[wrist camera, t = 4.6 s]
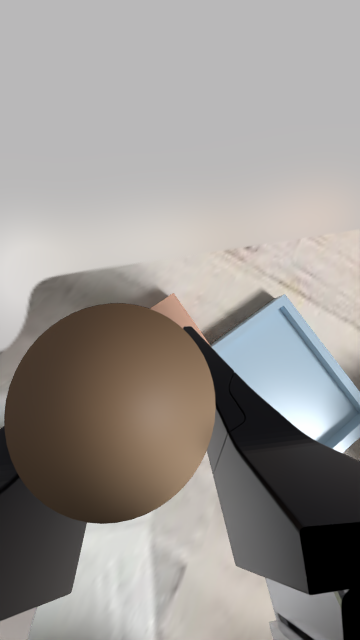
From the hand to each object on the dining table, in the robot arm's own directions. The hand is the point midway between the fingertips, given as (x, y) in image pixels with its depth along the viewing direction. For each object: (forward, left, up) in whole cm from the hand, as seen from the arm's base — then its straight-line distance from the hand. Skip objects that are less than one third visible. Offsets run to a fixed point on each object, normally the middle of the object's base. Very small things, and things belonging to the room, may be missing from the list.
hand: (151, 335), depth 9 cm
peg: (-1, +1, -6) cm, 6 cm away
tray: (-10, -7, -9) cm, 15 cm away
